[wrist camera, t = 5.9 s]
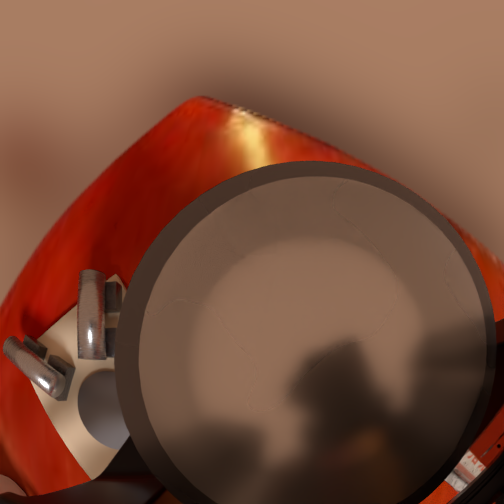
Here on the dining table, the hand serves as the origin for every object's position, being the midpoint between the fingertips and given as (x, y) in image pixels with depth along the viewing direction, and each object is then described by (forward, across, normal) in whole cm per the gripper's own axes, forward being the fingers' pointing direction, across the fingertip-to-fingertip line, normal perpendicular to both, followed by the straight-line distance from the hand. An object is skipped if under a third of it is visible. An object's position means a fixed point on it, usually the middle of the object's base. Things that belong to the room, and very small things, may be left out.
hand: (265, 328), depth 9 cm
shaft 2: (+13, +12, +6) cm, 19 cm away
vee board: (+10, +14, +9) cm, 19 cm away
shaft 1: (+11, +20, +8) cm, 24 cm away
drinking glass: (+4, 0, +6) cm, 7 cm away
